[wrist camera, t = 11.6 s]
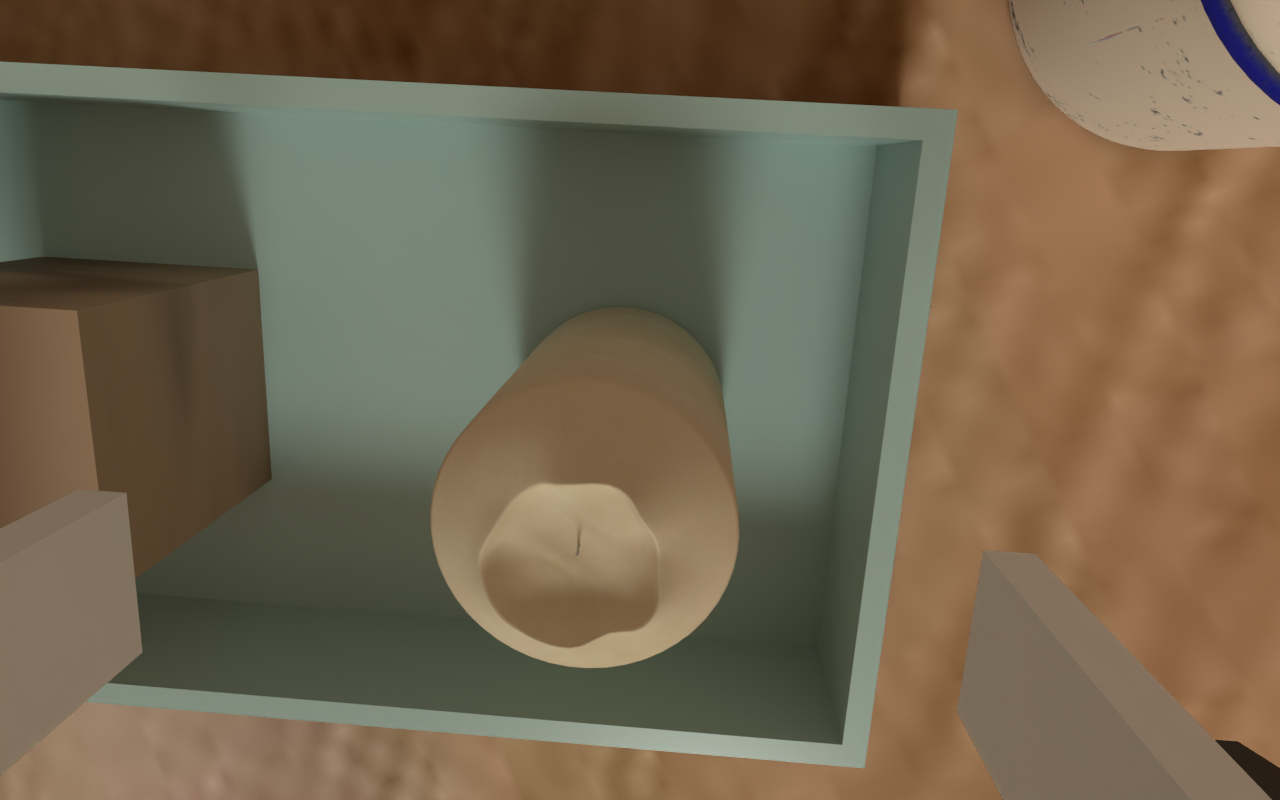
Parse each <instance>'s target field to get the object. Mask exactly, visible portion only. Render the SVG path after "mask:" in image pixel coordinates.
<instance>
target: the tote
mask: <svg viewBox="0 0 1280 800" xmlns="http://www.w3.org/2000/svg"><path fill="white" fill-rule="evenodd" d="M957 114H958V110H953V109H933V108H913V107H893V106H873V105H853V104H834V103H814V102H794V101H774V100H754V99H734V98H714V97H694V96H674V95H654V94H635V93H615V92H595V91H575V90H555V89H535V88H515V87H495V86H475V85H455V84H436V83H416V82H396V81H376V80H356V79H336V78H316V77H296V76H276V75H257V74H237V73H217V72H197V71H177V70H157V69H137V68H117V67H97V66H77V65H58V64H38V63H18V62H0V262H5V261H13V260H20V259H28V258H36V257H59V258H76V259H92V260H108V261H125V262H141V263H158V264H174V265H191V266H207V267H223V268H240V269H256V270H258V273H259V289H260V304H261V320H262V335H263V351H264V366H265V382H266V397H267V412H268V428H269V443H270V459H271V474H272V479H271V480H270V481H269V482H267V483H266V484H264V485H263V486H262V487H260V488H259V489H258V490H256V491H255V492H253V493H252V494H251V495H249V496H248V497H247V498H245V499H244V500H242V501H241V502H240V503H238V504H237V505H236V506H234V507H233V508H232V509H230V510H229V511H227V512H226V513H225V514H223V515H222V516H221V517H219V518H218V519H216V520H215V521H214V522H212V523H211V524H210V525H208V526H207V527H205V528H204V529H203V530H201V531H200V532H199V533H197V534H196V535H195V536H193V537H192V538H190V539H189V540H188V541H186V542H185V543H184V544H182V545H181V546H179V547H178V548H177V549H175V550H174V551H173V552H171V553H170V554H168V555H167V556H166V557H164V558H163V559H162V560H160V561H159V562H157V563H156V564H155V565H153V566H152V567H151V568H149V569H148V570H147V571H145V572H144V573H142V574H141V575H140V576H138V577H137V578H136V579H135V583H136V593H137V603H138V613H139V622H140V632H141V642H142V653H141V654H140V655H139V656H138V657H137V658H135V659H134V660H133V661H132V662H131V663H130V664H128V665H127V666H126V667H125V668H124V669H123V670H122V671H120V672H119V673H118V674H117V675H116V676H115V677H114V678H112V679H111V680H110V681H109V682H108V683H107V684H105V685H104V686H103V687H102V688H101V689H100V690H99V691H97V692H96V693H95V694H94V695H93V696H92V697H90V698H89V699H88V700H87V701H86V702H94V703H106V704H118V705H129V706H141V707H153V708H165V709H176V710H188V711H200V712H212V713H223V714H235V715H247V716H258V717H270V718H282V719H294V720H305V721H317V722H329V723H340V724H352V725H364V726H376V727H387V728H399V729H411V730H422V731H434V732H446V733H458V734H469V735H481V736H493V737H505V738H516V739H528V740H540V741H551V742H563V743H575V744H587V745H598V746H610V747H622V748H633V749H645V750H657V751H669V752H680V753H692V754H704V755H715V756H727V757H739V758H751V759H762V760H774V761H786V762H798V763H809V764H821V765H833V766H844V767H856V768H864V767H865V760H866V753H867V746H868V739H869V732H870V725H871V718H872V711H873V704H874V697H875V690H876V683H877V676H878V669H879V662H880V655H881V648H882V641H883V634H884V627H885V620H886V613H887V606H888V598H889V591H890V584H891V577H892V570H893V563H894V556H895V549H896V542H897V535H898V528H899V521H900V514H901V507H902V500H903V493H904V486H905V479H906V472H907V465H908V458H909V451H910V444H911V437H912V430H913V423H914V416H915V409H916V402H917V395H918V388H919V381H920V374H921V367H922V360H923V353H924V346H925V339H926V332H927V325H928V318H929V310H930V303H931V296H932V289H933V282H934V275H935V268H936V261H937V254H938V247H939V240H940V233H941V226H942V219H943V212H944V205H945V198H946V191H947V184H948V177H949V170H950V163H951V156H952V149H953V142H954V135H955V128H956V121H957ZM607 307H632V308H638V309H643V310H647V311H650V312H653V313H656V314H659V315H661V316H663V317H666V318H668V319H670V320H672V321H673V322H675V323H676V324H678V325H679V326H681V327H682V328H684V329H685V330H686V331H687V332H688V333H689V334H691V335H692V336H693V337H694V338H695V339H696V340H697V342H698V343H699V344H700V345H701V346H702V347H703V349H704V350H705V352H706V353H707V355H708V356H709V358H710V359H711V361H712V363H713V365H714V367H715V369H716V372H717V375H718V378H719V381H720V385H721V389H722V394H723V399H724V405H725V413H726V421H727V428H728V436H729V444H730V451H731V459H732V467H733V474H734V482H735V490H736V497H737V505H738V514H739V543H738V553H737V557H736V561H735V565H734V570H733V572H732V575H731V577H730V580H729V582H728V585H727V588H726V589H725V591H724V593H723V595H722V596H721V598H720V600H719V602H718V603H717V605H716V606H715V607H714V609H713V610H712V611H711V613H710V614H709V615H708V617H707V618H706V619H705V620H704V621H703V622H702V623H701V624H700V625H699V626H698V627H697V628H696V629H695V630H694V631H693V632H692V633H690V634H689V635H688V636H686V637H685V638H684V639H682V640H681V641H680V642H678V643H677V644H675V645H673V646H672V647H670V648H668V649H666V650H665V651H663V652H661V653H658V654H656V655H654V656H651V657H649V658H646V659H644V660H640V661H637V662H633V663H630V664H626V665H620V666H613V667H607V668H579V667H568V666H563V665H558V664H553V663H548V662H545V661H542V660H539V659H536V658H533V657H530V656H528V655H526V654H523V653H521V652H519V651H517V650H515V649H513V648H511V647H509V646H508V645H506V644H504V643H503V642H501V641H499V640H498V639H496V638H495V637H494V636H492V635H491V634H490V633H489V632H487V631H486V630H485V629H483V628H482V627H481V626H480V625H479V624H478V623H477V622H476V621H475V620H474V619H473V618H472V617H471V616H470V615H469V614H468V613H467V612H466V611H465V609H464V608H463V607H462V606H461V604H460V603H459V602H458V600H457V599H456V598H455V596H454V594H453V593H452V591H451V589H450V588H449V586H448V584H447V583H446V581H445V578H444V576H443V574H442V572H441V569H440V567H439V565H438V561H437V558H436V555H435V551H434V548H433V542H432V535H431V524H430V509H431V501H432V493H433V489H434V485H435V481H436V478H437V474H438V472H439V469H440V467H441V465H442V462H443V460H444V458H445V456H446V454H447V452H448V451H449V449H450V448H451V446H452V444H453V443H454V441H455V440H456V438H457V437H458V436H459V435H460V434H461V432H462V431H463V430H464V429H465V428H466V426H467V425H468V424H469V423H470V422H471V421H472V419H473V418H474V417H475V416H476V415H477V414H478V413H479V412H480V410H481V409H482V408H483V407H484V406H485V405H486V404H487V403H488V401H489V400H490V399H491V398H492V397H493V396H494V395H495V394H496V392H497V391H498V390H499V389H500V388H501V387H502V386H503V385H504V383H505V382H506V381H507V380H508V379H509V378H510V377H511V376H512V374H513V373H514V372H515V371H516V370H517V369H518V368H519V367H520V366H521V364H522V363H523V362H524V361H525V360H526V359H527V358H528V357H529V355H530V354H531V353H532V352H533V351H534V350H535V349H536V348H537V346H538V345H539V344H540V343H541V342H542V341H543V340H544V339H545V338H546V337H547V336H548V335H550V334H551V333H552V332H553V331H554V330H555V329H556V328H558V327H559V326H560V325H562V324H563V323H565V322H566V321H568V320H570V319H572V318H574V317H576V316H578V315H580V314H583V313H586V312H589V311H592V310H596V309H601V308H607Z"/></svg>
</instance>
